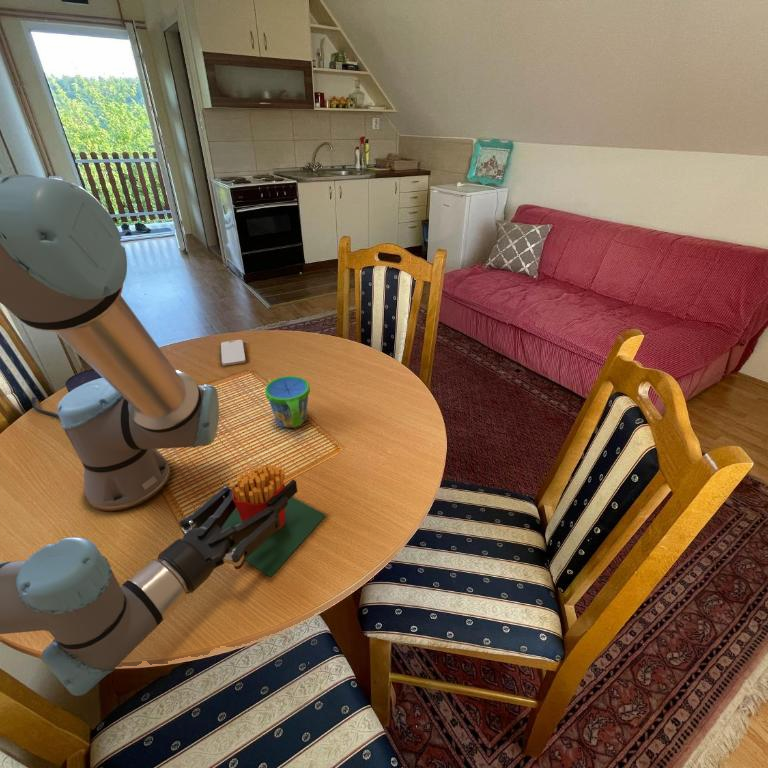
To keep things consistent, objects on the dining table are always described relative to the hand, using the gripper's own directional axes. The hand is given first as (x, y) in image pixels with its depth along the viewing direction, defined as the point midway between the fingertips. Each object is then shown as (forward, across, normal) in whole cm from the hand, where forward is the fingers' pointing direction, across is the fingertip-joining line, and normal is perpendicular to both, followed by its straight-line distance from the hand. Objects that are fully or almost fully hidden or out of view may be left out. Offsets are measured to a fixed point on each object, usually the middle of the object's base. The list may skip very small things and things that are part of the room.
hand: (281, 478), depth 77 cm
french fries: (-5, 0, -8) cm, 9 cm away
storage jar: (-4, -52, -8) cm, 53 cm away
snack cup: (+22, -18, -8) cm, 29 cm away
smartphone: (+39, -58, -8) cm, 70 cm away
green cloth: (-5, -2, -8) cm, 10 cm away
